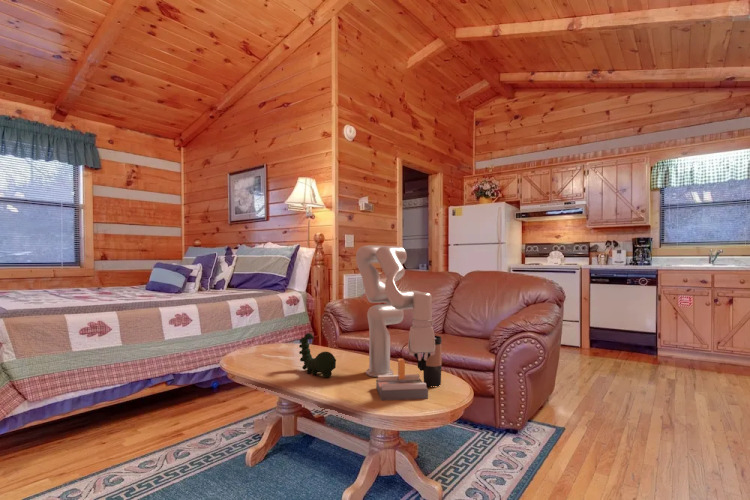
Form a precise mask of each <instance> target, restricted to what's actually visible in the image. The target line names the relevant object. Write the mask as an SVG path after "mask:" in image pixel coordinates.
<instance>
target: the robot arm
mask: <svg viewBox="0 0 750 500" xmlns="http://www.w3.org/2000/svg"><path fill="white" fill-rule="evenodd" d="M355 254H356V255H355V261H356V262H355V263H356V266H357V269H358V271H359V274H360V276H361V278H362V279H361V280H362V284H363V289H364V293H365V296H366V300H367V301H368V302H369V303H371V304H373V303H374V304H375V305H372V306H370V307H369V308H368V310H367V322H368V329H369V331H368V332H369V333H368V334H369V337H368V338H369V339H368V341H369V345H368V346H369V350H368V352H369V354H368V356H369V358H368V360H369V361H368V362H369V365H368V367H369V368H368V369H366V370H365V375H367V376H369V377H372V378H373V377H374V378H378V376H379V375H394V370H393V369H392V368H391V334H390V331H389V329H388V328H387V326H389V325H396V324H397V325H398V324H401V323H402V322H403V320H404V315H405V314H404V310H412V326H410V328H409V333H408V334H409V335H408V352H407V353H408V355H409V356H411V357H415V358H416V359H417V368H418V369H419V370H420V372H422V371H425V368H426V360H427V359H428V357H429V356H432V355H435V336H436V335H435V331H434V326H433V325H435V324H436V320H433V319H432V317H433V313H432V312H433V310H432V309H433V308H432V305H433V304H432V303H433V300H432V299H433V298H432V297H433V296H432V294H431V293H429V292H424V291H420V290H399V288H397V285H396V282H397V281H400V280H401V279H402V278H403V277H404V276H405V273H406V270H405V268H404V266H403V264H405V263H406V261H407V260H408V259H407V258H408V256H407V255H408V254H407V251H406V250H405V249H404V247H402V246H399V245H375V244H374V245H371V244H368V245H362V246H359V248H358V249H357V251H356V253H355ZM373 264H379V265H380V268H382V271H383V273H384V275H385V277H386V280H385V282H383V281H382V279H381V275H380V273H379V270H378V269H377V268H376V267H375V266H374V265H373ZM377 303H378V304H377ZM379 303H381V304H379ZM382 303H383V304H382ZM385 303H386V304H385Z"/></svg>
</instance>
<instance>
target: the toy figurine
mask: <svg viewBox="0 0 750 500" xmlns="http://www.w3.org/2000/svg"><path fill="white" fill-rule="evenodd" d="M309 339H311V340H314V335H313V334H312V333H310V332H307V333H306V334H305V335H304V336H303V337H302V338H299V343H300V344H299V348H300V349H301V351H298V353H299V355H301V357H300V359H299V362H303V366H302V369H303V371H304V370H305V371H306V374H309V375H310V374H312V375H313V376H316V375H317V373H321V374H322V376H323V378H324V379H327V378H330V377H331V376H332V374H333V372H332V371H334V370H335V369H336V367H337V365H336V364H337V359H336V357H335V356H334V354H332V353H331V352H329V351H321V352H320V353H318V354H317V355H316V356H315V357H313V356H312V354H311V349H310V343H309Z"/></svg>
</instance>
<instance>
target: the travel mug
mask: <svg viewBox="0 0 750 500" xmlns="http://www.w3.org/2000/svg"><path fill="white" fill-rule="evenodd" d="M434 336H435V355H432V356H429V357H428V359H427V360H426V368H425V371H423V370H422V371H423V373H422V374H423V383H426V387H427V386H432V387H431V388H434V387H433V386H439V385H442V363H443V362H442V336H439V335H434ZM439 387H440V386H439Z"/></svg>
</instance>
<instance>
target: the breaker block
mask: <svg viewBox="0 0 750 500" xmlns="http://www.w3.org/2000/svg"><path fill="white" fill-rule="evenodd" d="M397 378H398V374H393V375H379V376H378V377H377V379H376V380H375V381H376V390H377V393H378V395H379V398H380V401H401V400H403V401H404V400H423V399H424V400H425V399H429V388H428V387H427V386H426V383H424V381H423V380H422V379H421V377H420V374H419V373H417V374H416V373H415V374H405V383H399V382H398V380H397Z"/></svg>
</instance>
